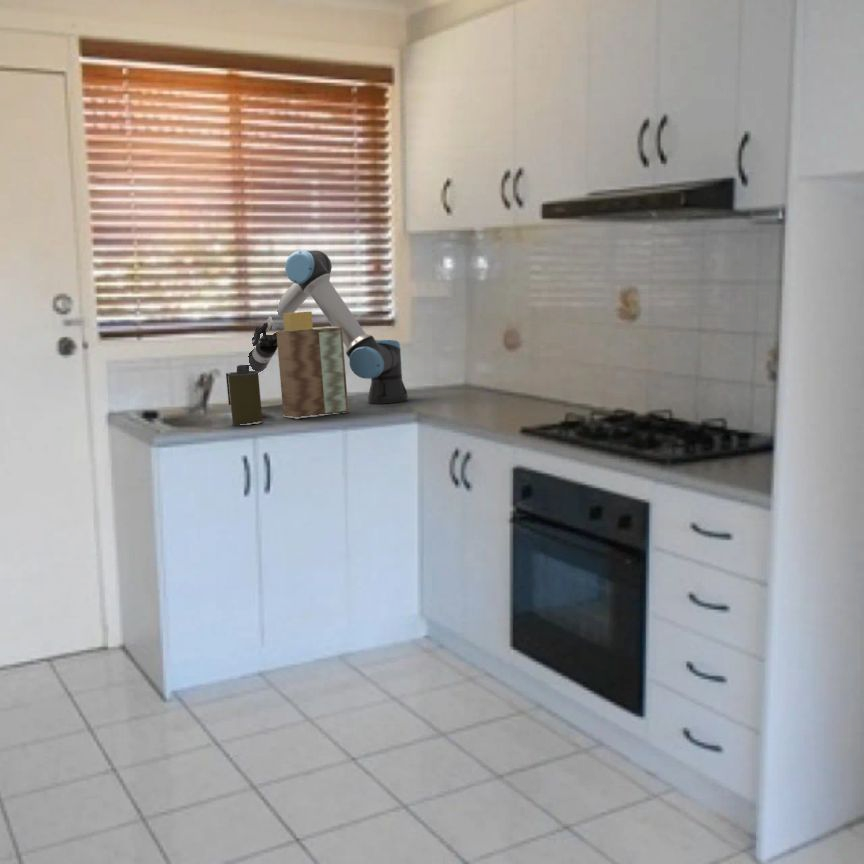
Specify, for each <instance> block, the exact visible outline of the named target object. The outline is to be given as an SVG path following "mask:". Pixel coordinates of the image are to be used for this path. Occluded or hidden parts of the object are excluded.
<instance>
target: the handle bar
mask: <svg viewBox="0 0 864 864" xmlns="http://www.w3.org/2000/svg"><path fill="white" fill-rule="evenodd" d="M283 319H284V321H275V322H273V324H272V330H278V331H280V330H284V331H298V330H309V329H313V328H314V327H313V326H314V325H313V323H314V322H313V313H312V311H295V312H293V313H283Z"/></svg>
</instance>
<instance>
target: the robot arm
mask: <svg viewBox="0 0 864 864" xmlns="http://www.w3.org/2000/svg"><path fill="white" fill-rule="evenodd" d="M284 268H285V270H284V272H285V274H286V276H287V278H288V279H289V280H290V281H291V282H292V284H291V285H290V286H289V288H287V290H286V291H285V292H284V293H283V294H282V295H281V297H282V298H281V297H280V298H281V299H280V298H279V299H280V302H279V305H278V310H277V312H278V315H279V317H280V318H283V313H293V312H297V310H298V309H299V307H301V305H302V304H303V303H304V302H306V300H307V299H308V298H309V296H311V298H312V299H313V301H314V302H315V304H316V305H317V307H318V308H319V309H320V310H321V313H323V315H324V316H325V318H326V319H327V321H328V322H329V324H330V325H331V327H340V328H342V333H343V345H344V346H345V347H346V349H345V350H346V351H345V355H346V356H347V358H348V359H349V362H348V363H349V368H350V369H351V372H353V374H354V375H355V376H357V377H359V378H360V379H370V380H371V381H370V388H369V390H368V395H367V403H368V404H377V405H378V404H379V405H381V404H395V403H396V404H397V403H402V402H403V403H404V402H407V401H408V400H409V396H408V395H409V394H408V391H407V389H406V386H405V383H404V381H403V374H402V361H401V360H402V357H401V350H402V348H401V347H400V346H401V345H400V342H399V341H398V340H396V339H375V338H374V336H373V335H372V334H367V333H366V332H365V331H364V329H363V327H362V326H361V324H360V323H359V321H358V320H357V319H356V317H355V316H354V315H353V313H352V312H351V310H350V308H349V307H348V306H347V304H346V303H345V302H344V299H342V297H341V296H340V294H339V293H338V291H337V290H336V289H335V287H334V286H333V284H332V282H331V280H330V279H331V274H332V273H331V272H332V261H331V259H330V257H329V256H328V255H327V254H326V253H324V252H323V251H321V250H320V251H319V250H305V249H301V250H298V251H294V252H292V253H291V254H290V255H289V256H288V257H287V259H286V261H285V267H284ZM272 324H273V320H272V317H271V316H269V318H268V319H267V321H266V323H264V324H263V326H261V328H259V327H256V326H255V327H256V328H255V327H254V328H255V333H254V337H253V338H252V344H253V346H255V347H254V349H253V350H252V351H251V352H250V353H249V356H248V357H249V363H250V365H251V367H252V369H253V370H255V371H258V372H261V371H263V370H264V369H265V368H266V369H267V367H268V365H269V363H270V361H271V360H272V358H273V357H274V355H275V353H276V352H277V351H278V346H277V334H276V333H274V334H273V335H266V332H268V331H269V329H270V328H271V326H272ZM279 331H281V330H279ZM261 333H263V336H262V337H261V338H260V334H261ZM266 369H265V370H266ZM265 370H264V371H265ZM264 371H263V372H264Z"/></svg>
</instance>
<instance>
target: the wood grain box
mask: <svg viewBox="0 0 864 864" xmlns="http://www.w3.org/2000/svg"><path fill="white" fill-rule="evenodd" d="M276 334H277V346H278V347H277V356H278V369H279V377H280V378H279V380H280V389H281V390H280V391H281V402H282V411H283V412H282V416H283V415H285V416H293V417H301V416H310V415H319V414H333V413H343V412H348V413H349V403H348V389H347V375H346V373H347V372H346V363H345V362H346V361H345V349H344V348H345V347H344V343H343V333H342V328H340V327H332V326H318V327H313V329H309V330H298V331H284V330H281V331H280V330H278V332H276Z"/></svg>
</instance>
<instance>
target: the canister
mask: <svg viewBox="0 0 864 864" xmlns="http://www.w3.org/2000/svg"><path fill="white" fill-rule="evenodd" d="M249 366H251V365H245V364H239V365H236V371H235V372H226V373H225V378H226V387H227V388H226V391H227V401H228V406H230V409H231V410H230V411H231V420H232V421H231V424H232V426H234V425H240V424H247V423H253V422H258V421H263V413H262V411H263V410H262V402H261V401H262V400H261V389H260V377H259V375H258V373H259V372H258V371H249Z"/></svg>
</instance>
